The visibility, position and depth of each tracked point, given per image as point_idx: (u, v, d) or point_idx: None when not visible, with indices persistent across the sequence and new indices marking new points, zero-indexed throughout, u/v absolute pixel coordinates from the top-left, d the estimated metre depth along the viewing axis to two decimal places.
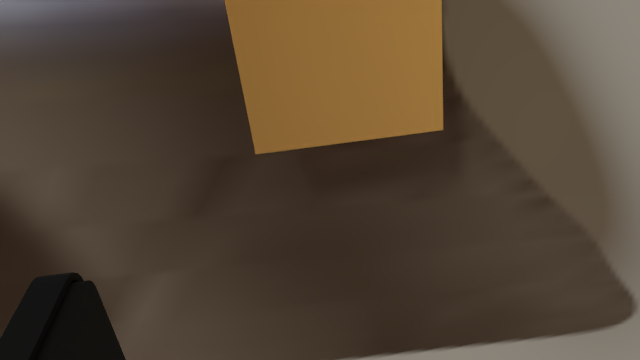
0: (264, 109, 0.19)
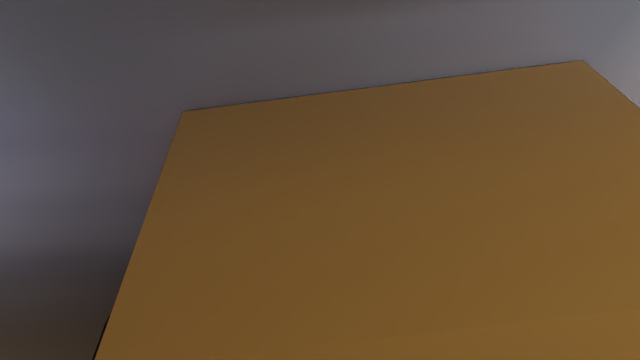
0: None
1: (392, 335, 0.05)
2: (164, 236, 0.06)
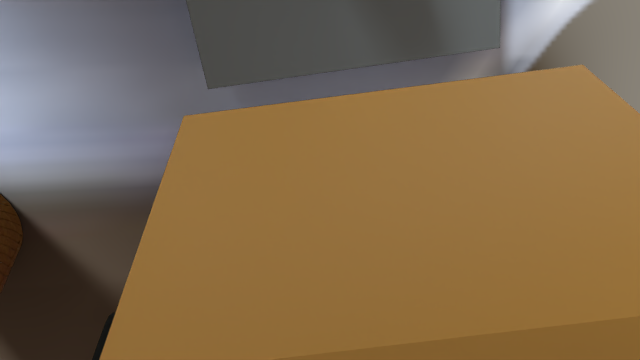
0: None
1: (393, 342, 0.05)
2: (166, 242, 0.06)
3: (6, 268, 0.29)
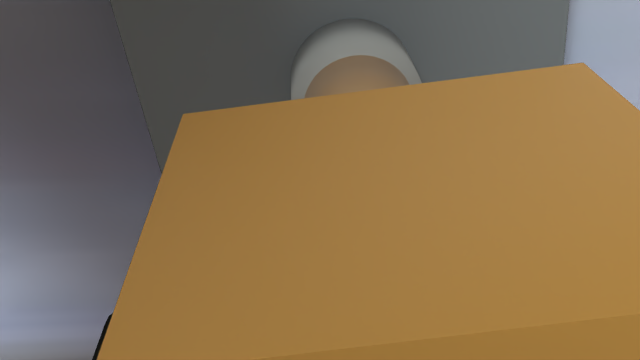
0: None
1: (393, 340, 0.05)
2: (164, 240, 0.06)
3: None
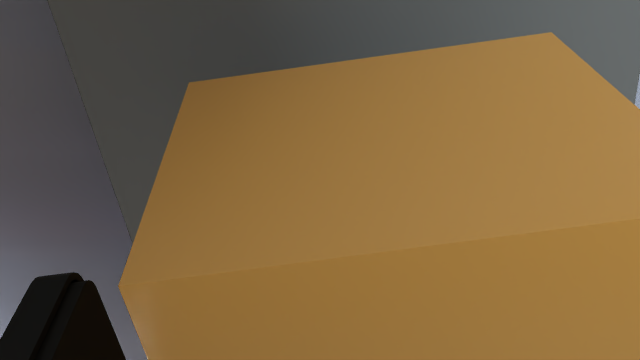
0: None
1: (370, 251, 0.06)
2: (176, 183, 0.07)
3: None
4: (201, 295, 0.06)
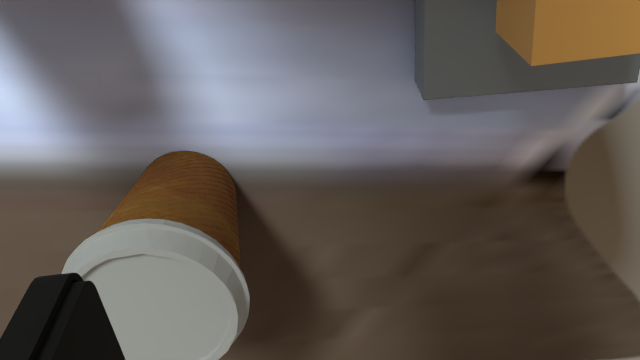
0: (546, 29, 0.25)
1: None
2: None
3: None
4: None
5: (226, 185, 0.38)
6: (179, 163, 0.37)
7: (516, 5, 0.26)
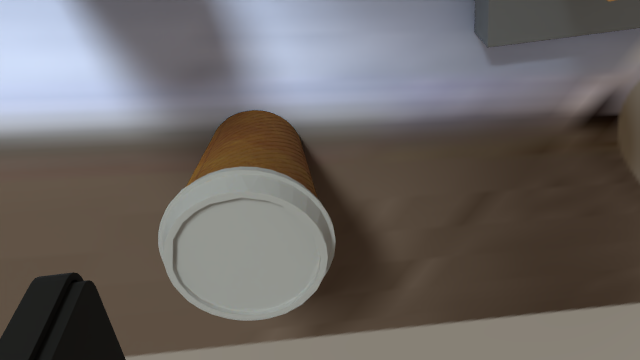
0: None
1: None
2: None
3: None
4: None
5: (295, 140, 0.39)
6: (252, 121, 0.39)
7: None
